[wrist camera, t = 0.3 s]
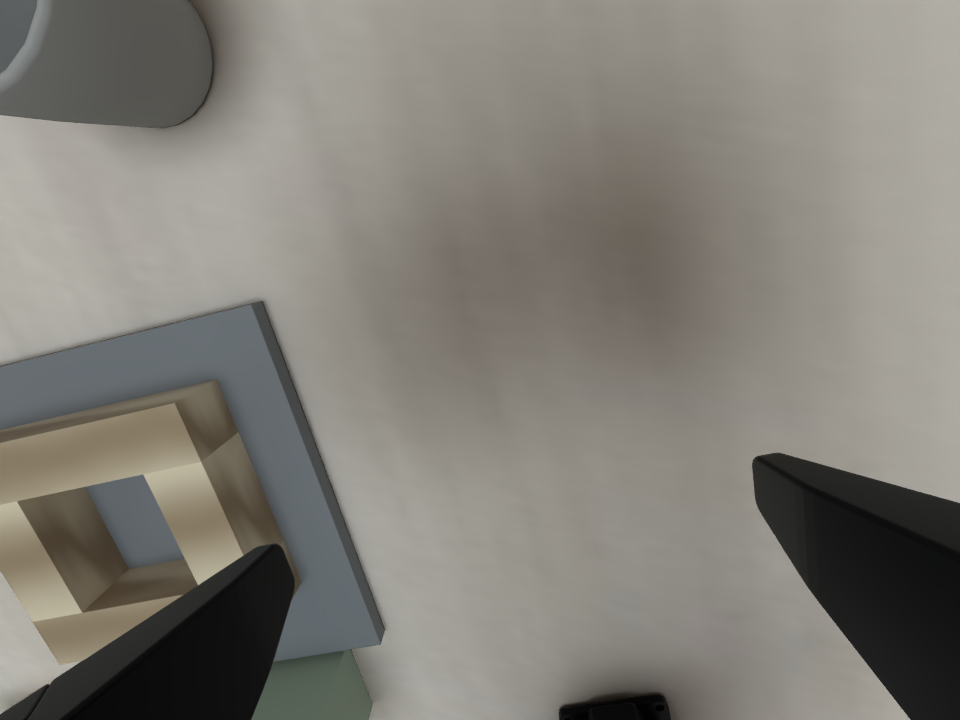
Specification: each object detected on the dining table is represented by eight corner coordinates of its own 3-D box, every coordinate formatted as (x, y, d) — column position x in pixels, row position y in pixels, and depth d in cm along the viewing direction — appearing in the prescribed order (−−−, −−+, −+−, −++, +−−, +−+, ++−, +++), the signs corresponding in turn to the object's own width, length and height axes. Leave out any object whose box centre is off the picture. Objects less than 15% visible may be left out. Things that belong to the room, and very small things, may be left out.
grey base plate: (384, 629, 27) (380, 644, 26) (113, 674, 29) (100, 689, 28) (261, 301, 22) (250, 304, 21) (-61, 381, 24) (-84, 387, 23)
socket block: (301, 582, 25) (276, 628, 23) (106, 617, 27) (59, 664, 24) (216, 379, 22) (174, 403, 19) (-1, 430, 23) (-70, 459, 21)
